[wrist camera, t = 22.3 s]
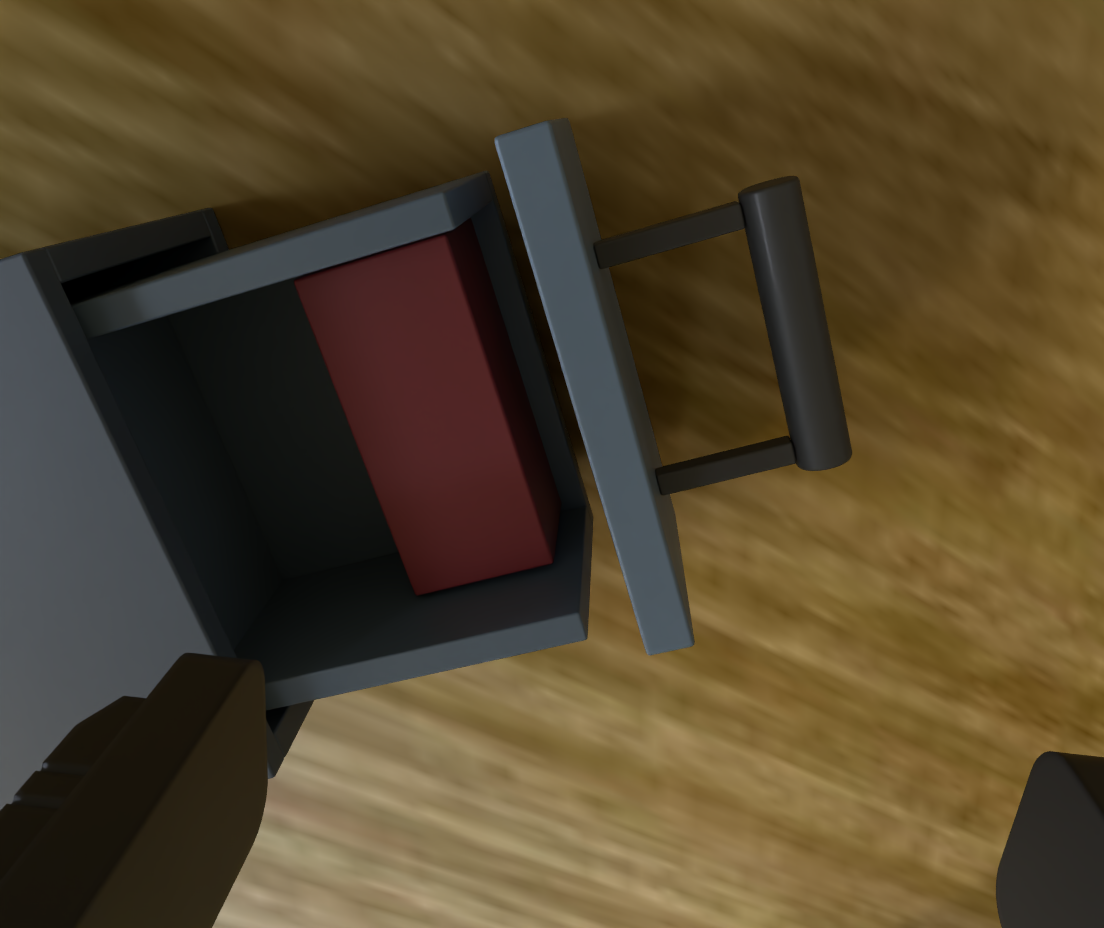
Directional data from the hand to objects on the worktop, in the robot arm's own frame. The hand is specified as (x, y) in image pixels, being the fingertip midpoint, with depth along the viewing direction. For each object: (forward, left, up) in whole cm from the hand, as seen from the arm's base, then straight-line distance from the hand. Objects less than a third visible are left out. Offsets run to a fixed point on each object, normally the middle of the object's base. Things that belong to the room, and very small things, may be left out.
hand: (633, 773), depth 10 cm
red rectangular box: (0, -5, -18) cm, 19 cm away
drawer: (0, -4, -19) cm, 20 cm away
